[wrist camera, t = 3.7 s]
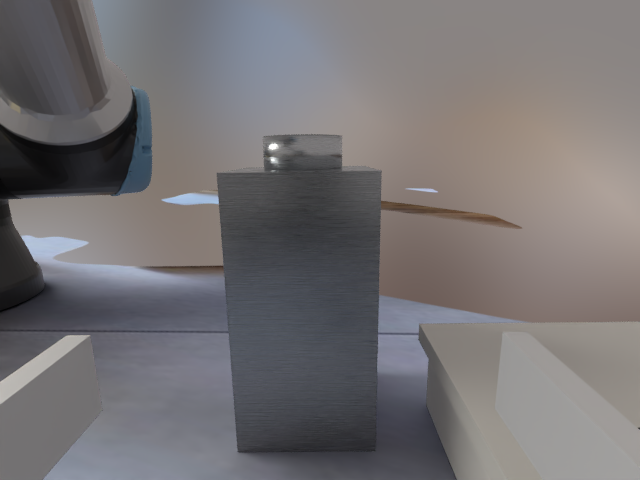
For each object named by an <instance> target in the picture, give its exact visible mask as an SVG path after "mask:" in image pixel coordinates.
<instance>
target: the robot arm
mask: <svg viewBox="0 0 640 480" xmlns="http://www.w3.org/2000/svg"><path fill="white" fill-rule="evenodd" d="M151 147H152V126H151V112H150V103H149V97H148V95H147V93H146V92H145V91H144V90H142V89H137V88H136V87H134V86H130V84H129V82H128V79H127V77H126V76H125V74H124V73H123V71H122V70H121V69H120V68H119V67H118V66H117V65H115V64H114V63H113V62H112V61H111V60H109V59H107V58H106V55H105V51H104V47H103V43H102V39H101V35H100V31H99V27H98V23H97V19H96V15H95V11H94V7H93V3H92V0H0V310H3V309H6V308H9V307H12V306H14V305H17V304H19V303H22V302H24V301H26V300H28V299H30V298H32V297H34V296H35V295H37V294H38V293H40V292H41V291H42V290H43V288H44V286H45V285H44V280H43V274H42V270H41V267H40V266H39V264H38V263H37V262H35V261H34V259H33V257H32V256H31V254H30V252H29V250H28V248H27V246H26V245H25V243H24V241H23V240H22V238H21V236H20V235H19V233H18V231H17V230H16V228H15V226H14V224H13V222H12V217H11V213H10V208H9V204H8V199H23V198H44V197H64V196H65V197H66V196H86V195H111V196H118V195H120V194H124V193H135V192H141V191H143V190H145V189H146V188H147V187H148V186H149V184H150V181H151V174H152V150H151ZM495 409H496V411H497V412H498V414H499V415H500V417H501V418H502V420H503V421H504V423H505V424H506V426H507V427H508V429H509V430H510V432H511V433H512V435H513V436H514V438H515V439H516V441H517V442H518V444H519V445H520V446H521V448H522V449H523V451H524V452H525V454H526V455H527V457H528V458H529V460H530V461H531V463H532V464H533V466H534V467H535V469H536V470H537V472H538V473H539V475H540V476H541V478H542V479H543V480H640V428H637V427H636V426H635V425H634V424H633V423H631V422H630V421H629V420H628V419H627V418H626V417H625V416H623V415H622V414H621V413H620V412H619V411H618V410H616V409H615V408H614V407H613V406H612V405H611V404H610V403H608V402H607V401H606V400H605V399H604V398H603V397H602V396H600V395H599V394H598V393H597V392H596V391H595V390H594V389H592V388H591V387H590V386H589V385H588V384H587V383H585V382H584V381H583V380H582V379H581V378H580V377H579V376H577V375H576V374H575V373H574V372H573V371H572V370H571V369H569V368H568V367H567V366H566V365H565V364H564V363H563V362H561V361H560V360H559V359H558V358H557V357H556V356H554V355H553V354H552V353H551V352H550V351H549V350H548V349H546V348H545V347H544V346H543V345H542V344H541V343H540V342H538V341H537V340H536V339H535V338H534V337H533V336H532V335H530V334H529V333H528V332H503V334H502V344H501V353H500V363H499V373H498V382H497V392H496V402H495ZM102 411H103V408H102V402H101V396H100V390H99V384H98V378H97V372H96V366H95V360H94V354H93V348H92V342H91V336H90V335H67V336H65V337H64V338H62V339H61V340H59V341H58V342H57V343H55V344H54V345H52V346H51V347H49V348H48V349H47V350H45V351H44V352H42V353H41V354H39V355H38V356H37V357H35V358H34V359H32V360H31V361H29V362H28V363H27V364H25V365H24V366H22V367H21V368H19V369H18V370H17V371H15V372H14V373H12V374H11V375H9V376H8V377H6V378H5V379H4V380H2V381H1V382H0V480H43V479H44V477H45V476H46V475H47V474H48V473H49V472H50V470H51V469H52V468H53V467H54V466H55V465H56V464H57V462H58V461H59V460H60V459H61V458H62V457H63V456H64V454H65V453H66V452H67V451H68V450H69V449H70V447H71V446H72V445H73V444H74V443H75V442H76V441H77V439H78V438H79V437H80V436H81V435H82V434H83V433H84V431H85V430H86V429H87V428H88V427H89V426H90V424H91V423H92V422H93V421H94V420H95V419H96V418H97V416H98V415H99V414H100V413H101V412H102Z"/></svg>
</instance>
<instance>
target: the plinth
mask: <svg viewBox="0 0 640 480" xmlns="http://www.w3.org/2000/svg"><path fill="white" fill-rule="evenodd" d="M503 332H528V333H529V334H530V335H532V336H533V337H534V338H535V339H536V340H537V341H538V342H540V343H541V344H542V345H543V346H544V347H545V348H546V349H548V350H549V351H550V352H551V353H552V354H553V355H554V356H556V357H557V358H558V359H559V360H560V361H561V362H563V363H564V364H565V365H566V366H567V367H568V368H569V369H571V370H572V371H573V372H574V373H575V374H576V375H577V376H579V377H580V378H581V379H582V380H583V381H584V382H585V383H587V384H588V385H589V386H590V387H591V388H592V389H594V390H595V391H596V392H597V393H598V394H599V395H600V396H602V397H603V398H604V399H605V400H606V401H607V402H608V403H610V404H611V405H612V406H613V407H614V408H615V409H616V410H618V411H619V412H620V413H621V414H622V415H623V416H625V417H626V418H627V419H628V420H629V421H630V422H631V423H633V424H634V425H635V426H636V427H637V428H640V322H572V323H571V322H564V323H563V322H562V323H454V324H419V341H420V343H421V345H422V347H423V349H424V351H425V353H426V355H427V357H428V359H429V362H428V380H427V398H426V406H427V408H428V411H429V413H430V416H431V418H432V420H433V423H434V425H435V428H436V430H437V433H438V435H439V437H440V440H441V442H442V445H443V447H444V450H445V452H446V455H447V457H448V459H449V462H450V464H451V467H452V469H453V472H454V474H455V477H456V479H457V480H543V479H542V478H541V476H540V475H539V473H538V472H537V470H536V469H535V467H534V466H533V464H532V463H531V461H530V460H529V458H528V457H527V455H526V454H525V452H524V451H523V449H522V448H521V446H520V445H519V444H518V442H517V441H516V439H515V438H514V436H513V435H512V433H511V432H510V430H509V429H508V427H507V426H506V424H505V423H504V421H503V420H502V418H501V417H500V415H499V414H498V412H497V411H496V409H495V402H496V392H497V382H498V373H499V363H500V353H501V344H502V334H503Z"/></svg>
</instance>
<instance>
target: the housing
mask: <svg viewBox="0 0 640 480" xmlns="http://www.w3.org/2000/svg"><path fill="white" fill-rule="evenodd" d="M263 153H264V154H263V155H264V167H263V168H262V167H261V168H260V167H259V168H244V169H238V170H232V171H226V172H220V173H217V184H218V197H219V210H220V223H221V237H222V248H223V263H224V277H225V290H226V303H227V316H228V330H229V343H230V356H231V369H232V383H233V396H234V409H235V422H236V436H237V449H238V452H323V451H375V444H376V399H377V353H378V308H379V262H380V261H379V260H380V258H379V257H380V217H381V216H380V215H381V172H382V171H381V170H377V169H373V168H370V167H366V166H342V136H340V135H274V136H264V137H263Z"/></svg>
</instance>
